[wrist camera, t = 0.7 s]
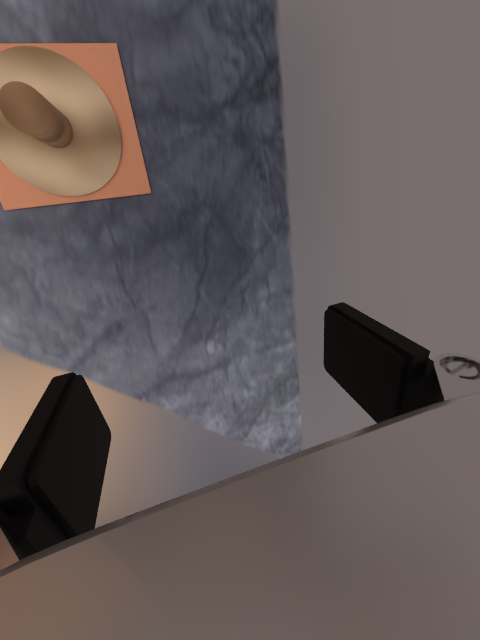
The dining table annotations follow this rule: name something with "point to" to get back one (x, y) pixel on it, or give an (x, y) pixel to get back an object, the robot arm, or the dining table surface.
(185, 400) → the dining table surface
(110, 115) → the lid
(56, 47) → the mat
